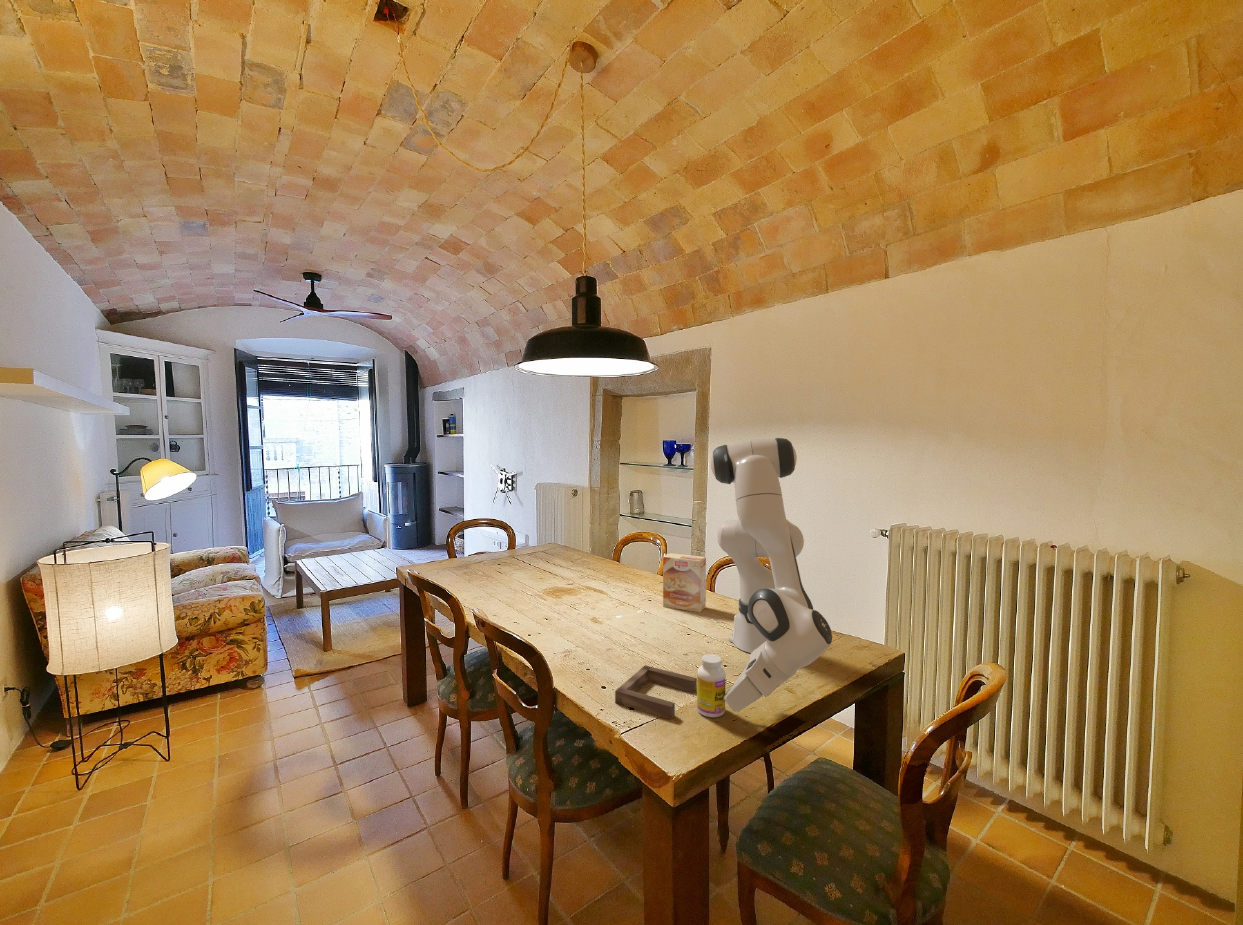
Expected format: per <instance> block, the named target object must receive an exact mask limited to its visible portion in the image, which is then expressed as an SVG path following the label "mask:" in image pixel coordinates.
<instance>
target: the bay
mask: <svg viewBox="0 0 1243 925" xmlns="http://www.w3.org/2000/svg"><path fill="white" fill-rule="evenodd" d="M648 682H651V683H655V684H659V685H663V686H667V687H671V688H675V689H678V690H683V691H686V692H688V693H689V692H690V693H695V692H697V677H694V676H690V675H685V674H681V673H677V672H674V671H669V670H666V669H661V668H657V667H654V666H649V665H646V664H645V665H643V666H642V667H641V668H640V669H639V670H638V671H637V672H635V673H634V674H633V675H632V676H630V677H629V678H628V679H627V680H626V681H625V682H624V683H623V684H622V685H620V686H619V687H618V688H617V689H615V690H614V696H615V697H614V698H615V699H614V702H615V704H618V705H622V706H626V707H628V708H632V709H634V710H639V711H642V712H645V713H649V714H652V715H655V716H658V717H662V718H664V719H668V720H672V719H673V718H674V717H675V715H676V714H675V712H676V711H675V708H676V704H675V702H673V701H670V700H666V699H662V698H658V697H655V696H651V695H647V694H646V693H645V694H644V693H641V692H638V691H639V690H640V689H641V688H642V687H644V685H645V684H646V683H648Z"/></svg>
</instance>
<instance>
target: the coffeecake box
mask: <svg viewBox="0 0 1243 925" xmlns="http://www.w3.org/2000/svg"><path fill="white" fill-rule="evenodd" d="M662 558H663V559H662V561H663V562H662V563H663V564H662V565H663V566H662V568H663V569H662V571H663V572H662V607H664V608H669V609H675V610H681V611H690V612H695V613H701V612H702V611H703V610H704V609H705V608H706V602H707V601H706V600H707V597H706V593H707V592H706V591H707V590H706V589H707V579H706V578H707V557H706V556H700V555H699V556H698V555H692V554H691V555H690V554H682V553H672V552H670V553H667V554H665V555H663V557H662Z"/></svg>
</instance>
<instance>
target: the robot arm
mask: <svg viewBox="0 0 1243 925" xmlns="http://www.w3.org/2000/svg"><path fill="white" fill-rule="evenodd" d="M797 459H798V458H797V451H796V450H795V447H794V446H793V444H792V442H791V441H790V440H789V439H787V438H783V437H775V438H773V439H772V438H767V439H766V438H761V439H751V440H746V441H741V442H735V443H731V444H722V445H720V446H717V447H715V449H714V450H712V455H711V458H710V469H711V473H712V474H713V476H714V477H715V480H716V481H718V482H719V483H721V484H725V485H726V484H727V485H731V484H732V483H733V484H734V492H735V493H734V495H735V505H736V513H737V517H738V519H732V520H731V519H730V520H725V521H724V522H723V523H722V524H721V525H720V526H719V528H718V530H717V538H716V539H717V542H718V545H719V547H720V548H721V550H722V551H724V553H726V554H727V555H728V557H729V558H730V559H731V561H732V562H733V564H734V565H735V567H736V570H737V572H738V575H739V585H740V592H739V593H740V598H739V599H738V613H736V614H735V615H734V617H733V630H732V632H733V633H732V634H730V635H729V636H728V641H729V642H730V643H733V645H734V646H735V647H736V648H737V649H739V650H741V651H743V652H745V653H749V655H750V656H749V657H750V659H749V661H748V663H747V665H746V667H745V668H744V669H743V671H742V672H741V673H740V675H739V676H738V678H737V679H736V681H734V683H733V684H732V686H731V688H729V689H728V690H727V691H725V695H724V700H725V704H727V706H728V707H729V708H730V709H731V710H732V711H733V712H739V711H742V710H743V709H745V708H747V707H748V706H750V705H751V704H753V703H754V702H756V701H758V700H759V699H760V698H761V697H764V698H767V697H769V696H770V695H771V694H772V693H773V692H774V691H775V690H776V689H777V688H779V687H780V686H782V685H784V683H785V682H787V681H788V680H790V679H792V677H794V676H795V675H796V674H797V673H798V671H799V670H800V669H802V668H804V667H807V666H809V665H810V664H812V663H813V662H815V661H816V660H817V659H819V657H821V656H822V655H823V654H824V653H825V652H826V651H827V650H828V648H829V647H830V646H831V645H832V643H833V634H832V628H831V626H830V624H829V623H828V621H827V619H826V618H825V617H824V616H823V614H821V613H820V612H819V611H818V610H815V609H814V606H813V603H812V600H811V599H810V597H809V596H808V594H807V591H806V590H805V588H804V586H803V583H802V579H801V574H800V570H799V565H798V561H797V557H798V556H800V554H801V553H802V550H803V548H804V544H805V539H804V534H803V533H802V530H801V529H800V528H799V526H797V525H795V524H794V523H792V522H790V521H789V520H788V519H787V517H786V512H785V506H784V499H783V492H782V487H781V483H780V479H783V478H785V477H788V476H791V475H792V474H793V472H794V471H795V468H796V465H797ZM759 558H764V559H765V558H766V559H767V558H768V559H769V563H770V567H771V568H770V569H769V568H767V567H766V566H764V565H763V564H762V563H761V561H760V560H759Z"/></svg>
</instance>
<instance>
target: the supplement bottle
mask: <svg viewBox="0 0 1243 925" xmlns="http://www.w3.org/2000/svg"><path fill="white" fill-rule="evenodd" d="M722 662H723V661H722V657H720V656H719V655H717V654H714V653H713V654H711V653H710V654H703V656H701V665H700V666H699V667H698V669H697V671H696V672H697V675H696V678H697V690H696V709H697V710H696V711H698V713H699V714H701V715H702V716H705V717H707V718H720V717H722V716H723V715H724V713H725V711H726V701H725V700H724V695H725V694H726V683H727V682H726V680H727V679H726V675H727V674H726V671H725V669H724V668H723V667H722Z"/></svg>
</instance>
